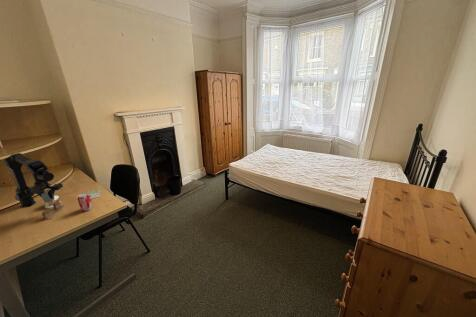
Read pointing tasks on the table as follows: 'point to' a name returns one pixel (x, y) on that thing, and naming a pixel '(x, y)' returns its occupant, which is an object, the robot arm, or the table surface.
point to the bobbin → (51, 203)
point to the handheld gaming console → (93, 194)
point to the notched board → (52, 211)
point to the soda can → (84, 202)
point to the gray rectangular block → (46, 197)
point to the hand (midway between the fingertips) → (48, 198)
